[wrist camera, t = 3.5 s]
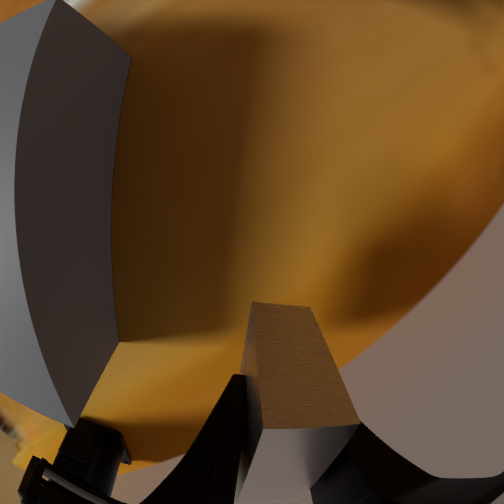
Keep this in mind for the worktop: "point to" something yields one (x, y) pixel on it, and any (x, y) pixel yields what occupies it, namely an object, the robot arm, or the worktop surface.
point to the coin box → (57, 206)
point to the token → (289, 406)
